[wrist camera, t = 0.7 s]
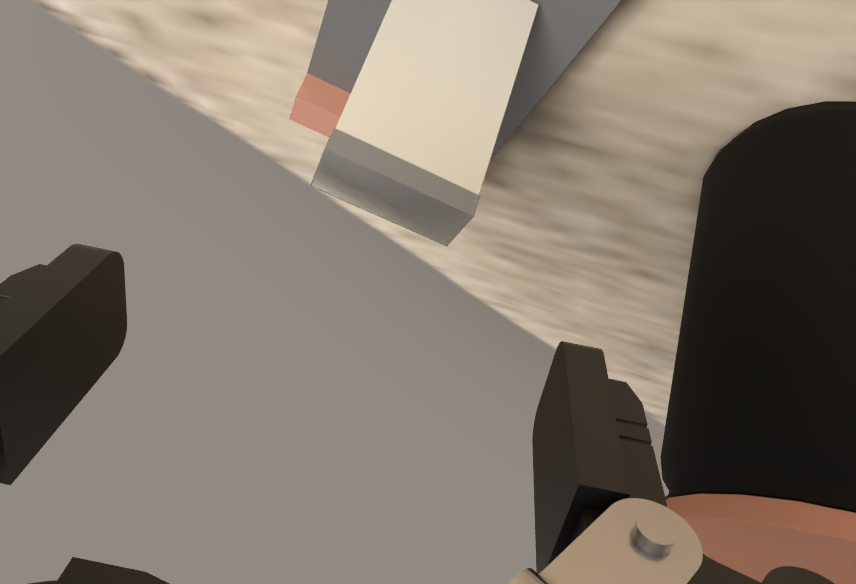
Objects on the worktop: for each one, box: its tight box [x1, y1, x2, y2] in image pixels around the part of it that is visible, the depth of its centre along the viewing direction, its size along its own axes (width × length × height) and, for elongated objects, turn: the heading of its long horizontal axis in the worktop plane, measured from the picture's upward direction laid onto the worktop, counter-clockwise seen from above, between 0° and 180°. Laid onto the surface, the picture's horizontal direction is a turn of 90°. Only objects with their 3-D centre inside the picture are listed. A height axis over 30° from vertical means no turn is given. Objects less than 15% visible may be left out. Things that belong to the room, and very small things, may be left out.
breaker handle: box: [310, 0, 538, 246], centre depth 26 cm, size 2×5×10 cm, turn 70°
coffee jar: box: [661, 102, 856, 584], centre depth 30 cm, size 11×11×18 cm
